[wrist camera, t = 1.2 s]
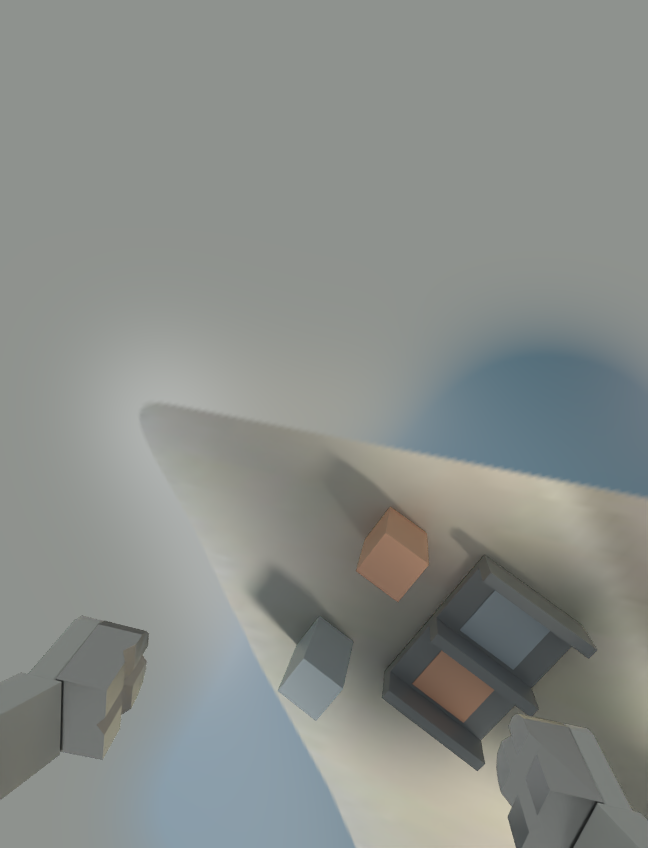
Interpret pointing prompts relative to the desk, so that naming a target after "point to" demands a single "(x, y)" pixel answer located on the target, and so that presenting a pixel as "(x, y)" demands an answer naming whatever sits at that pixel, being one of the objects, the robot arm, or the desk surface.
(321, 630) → the slate-blue plug
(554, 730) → the robot arm
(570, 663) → the desk surface
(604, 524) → the desk surface
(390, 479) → the desk surface
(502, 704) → the slot dock
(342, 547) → the desk surface
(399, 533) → the terracotta plug
